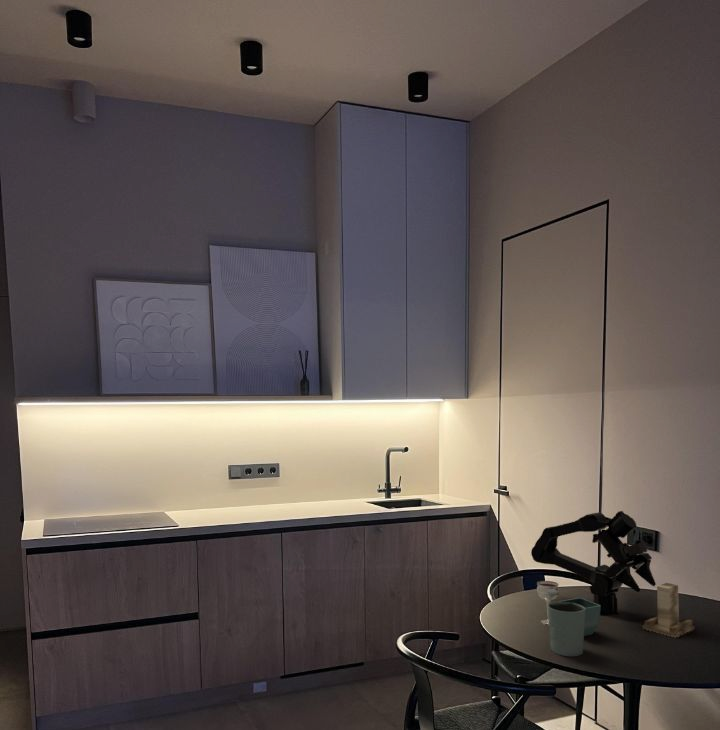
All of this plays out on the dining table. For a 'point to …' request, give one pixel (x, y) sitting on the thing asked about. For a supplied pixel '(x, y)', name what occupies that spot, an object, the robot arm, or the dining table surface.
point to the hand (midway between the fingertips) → (647, 588)
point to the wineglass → (547, 593)
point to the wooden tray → (672, 631)
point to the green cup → (566, 628)
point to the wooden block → (667, 605)
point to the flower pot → (588, 614)
